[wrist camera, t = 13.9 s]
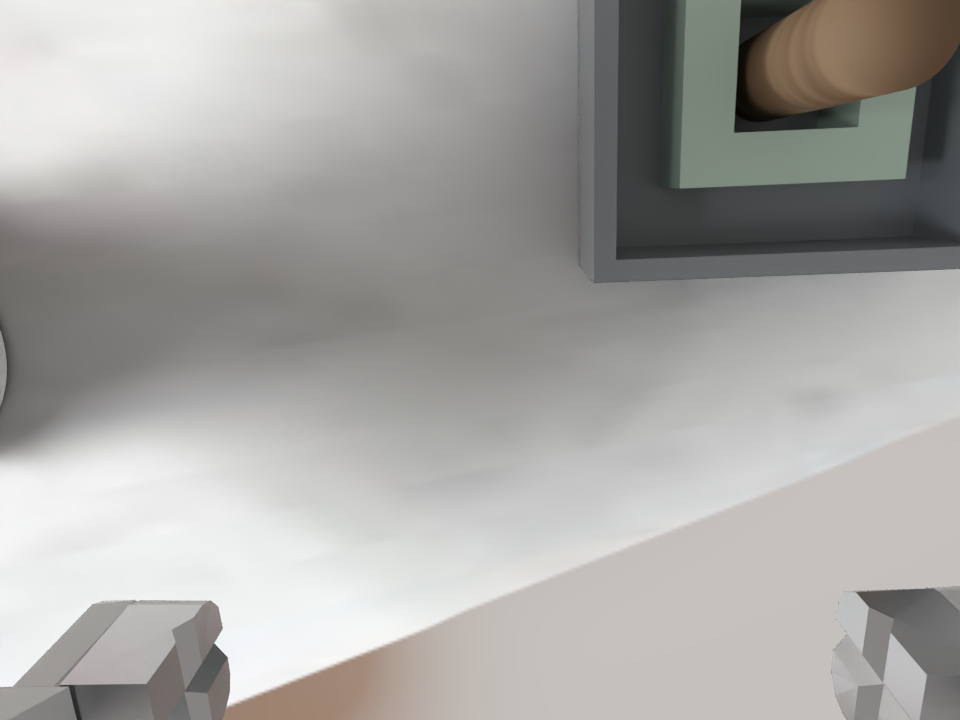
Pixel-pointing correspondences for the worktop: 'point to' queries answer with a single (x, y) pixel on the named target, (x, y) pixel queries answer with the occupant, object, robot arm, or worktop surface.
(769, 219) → the bore box
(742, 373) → the worktop surface
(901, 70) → the peg
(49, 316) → the worktop surface
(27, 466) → the worktop surface
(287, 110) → the worktop surface
